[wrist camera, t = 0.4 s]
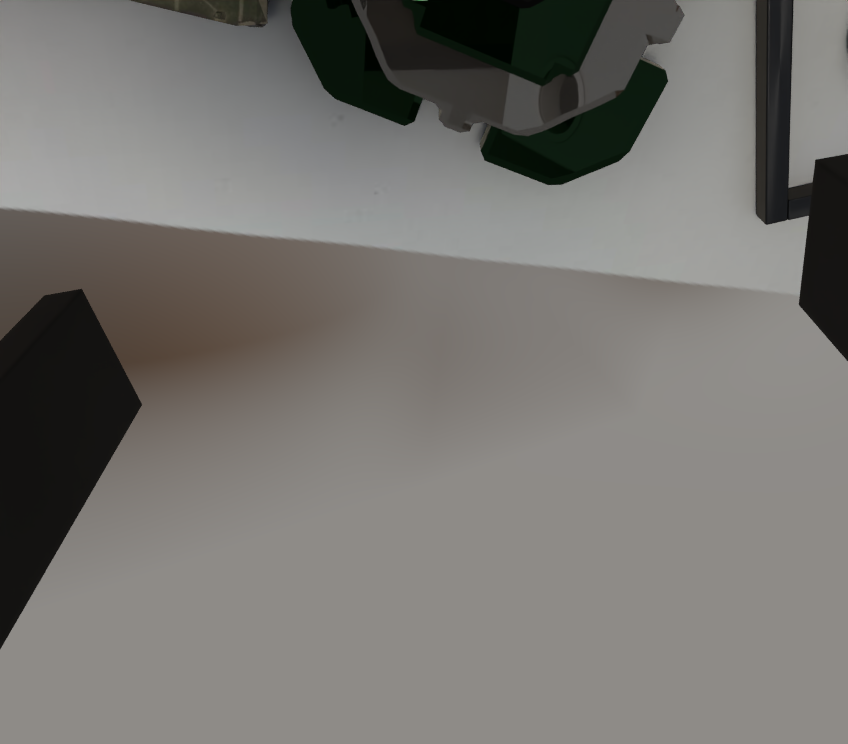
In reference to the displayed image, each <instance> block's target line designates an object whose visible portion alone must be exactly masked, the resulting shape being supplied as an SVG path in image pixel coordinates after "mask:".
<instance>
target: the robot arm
mask: <svg viewBox="0 0 848 744" xmlns="http://www.w3.org/2000/svg"><path fill="white" fill-rule="evenodd" d="M799 305H800V307H801V308H802V309H803V310H804V311H805V312H806V313H807V315H808V316H809V317H810V318H811V319H812V320H813V322H814V323H815V324H816V325H817V326H818V327H819V329H820V330H821V331H822V332H823V333H824V334H825V335H826V337H827V338H828V339H829V340H830V341H831V342H832V344H833V345H834V346H835V347H836V348H837V349H838V351H839V352H840V353H841V354H842V355H843V356H844V357H845V358H846V360H847V361H848V154H846V155H840V156H834V157H829V158H823V159H817V160H815V169H814V177H813V186H812V195H811V203H810V212H809V221H808V229H807V238H806V247H805V255H804V264H803V273H802V281H801V290H800V299H799ZM141 406H142V404H141V402H140V400H139V398H138V396H137V394H136V392H135V390H134V388H133V386H132V384H131V383H130V381H129V379H128V377H127V375H126V373H125V371H124V369H123V367H122V365H121V363H120V361H119V359H118V358H117V356H116V354H115V352H114V350H113V348H112V346H111V344H110V342H109V340H108V338H107V336H106V335H105V333H104V331H103V329H102V327H101V325H100V323H99V321H98V319H97V318H96V315H95V313H94V312H93V310H92V308H91V306H90V304H89V302H88V300H87V298H86V296H85V294H84V292H83V290H82V289H79V290H73V291H67V292H62V293H56V294H51V295H45V296H44V297H43V298H42V299H41V300H40V301H39V302H38V303H37V304H36V305H35V306H34V307H33V308H32V309H31V310H30V311H29V312H28V313H27V314H26V315H25V316H24V317H23V318H22V319H21V320H20V321H19V322H18V323H17V324H16V325H15V326H14V327H13V328H12V329H11V330H10V331H9V333H7V334H6V335H5V336H4V338H3V339H2V340H1V341H0V649H1V647H2V645H3V643H4V642H5V640H6V638H7V637H8V635H9V633H10V631H11V630H12V628H13V626H14V624H15V623H16V621H17V619H18V618H19V616H20V614H21V613H22V611H23V609H24V607H25V606H26V604H27V602H28V600H29V599H30V597H31V595H32V594H33V592H34V590H35V588H36V586H37V585H38V583H39V581H40V580H41V578H42V576H43V575H44V573H45V571H46V569H47V567H48V566H49V564H50V563H51V561H52V559H53V557H54V556H55V554H56V552H57V550H58V549H59V547H60V545H61V544H62V542H63V540H64V538H65V537H66V535H67V533H68V531H69V530H70V528H71V526H72V525H73V523H74V521H75V519H76V518H77V516H78V514H79V512H80V511H81V509H82V507H83V506H84V504H85V502H86V500H87V499H88V497H89V495H90V494H91V492H92V490H93V488H94V487H95V485H96V483H97V481H98V480H99V478H100V476H101V475H102V473H103V471H104V469H105V468H106V466H107V464H108V462H109V461H110V459H111V457H112V455H113V454H114V452H115V450H116V449H117V447H118V445H119V444H120V442H121V440H122V438H123V437H124V435H125V433H126V431H127V430H128V428H129V426H130V424H131V423H132V421H133V419H134V418H135V416H136V414H137V413H138V411H139V409H140V407H141Z"/></svg>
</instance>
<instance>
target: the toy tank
mask: <svg viewBox="0 0 848 744" xmlns="http://www.w3.org/2000/svg"><path fill="white" fill-rule="evenodd" d="M131 1H135V2H139V3H143V4H147V5H152V6H156V7H160V8H164V9H168V10H172V11H177V12H181V13H185V14H189V15H193V16H198V17H202V18H206V19H210V20H214V21H219V22H223V23H227V24H231V25H235V26H241V25H245V26H249V27H263V26H265V25H266V24H267V14H268V13H267V12H268V11H267V9H268V0H131Z"/></svg>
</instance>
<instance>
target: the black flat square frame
mask: <svg viewBox="0 0 848 744" xmlns="http://www.w3.org/2000/svg"><path fill="white" fill-rule="evenodd" d="M792 32H793V0H757V98H756V214H757V216H758V217H759V218H760V219H761V220H762V221H763V222H764V223H765V224H766V225H768V224H772V223H777V222H781V221H785V220H787V219H788V220H791V219H795V218H800V217H804V216H809V212H810V203H811V195H812V186H813V183H811V184H807V185H802V186H798V187H794V188H789V189H788V180H789V143H790V106H791V69H792Z"/></svg>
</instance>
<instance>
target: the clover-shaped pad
mask: <svg viewBox="0 0 848 744" xmlns="http://www.w3.org/2000/svg"><path fill="white" fill-rule="evenodd" d="M291 17H292V25H293V28H294V30H295V32H296V34H297V36H298V38H299V40H300V42H301V44H302V46H303V48H304V50H305V51H306V53H307V55H308V57H309V59H310V61H311V63H312V65H313V67H314V69H315V71H316V73H317V75H318V77H319V79H320V81H321V83H322V85H323V87H324V89H325V90H326V91H327V92H328V93H329V94H331V95H332V96H333V97H334V98H335V99H337V100H339V101H342V102H345V103H347V104H350V105H352V106H355V107H357V108H360V109H363V110H365V111H368V112H370V113H373V114H375V115H378V116H381V117H383V118H386V119H388V120H391V121H393V122H396V123H399V124H401V125H404V126H405V125H407V124H410V123H412V122H414V121H415V118H416V116H417V113H418V110H419V107H420V105H421V102H422V99H423V98H424V99H426V100H429V101H431V102H434V103H436V104H437V105H438V107H439V120H440V121H441V122H442V123H443V125H444V126H445V127H447V128H450V129H453V130H455V131H458V132H467V131H470V129H471V126H472V124H473V123H478V122H484V123H487V124H488V125H487V127H486V130H485V132H484V134H483V137H482V139H481V141H480V149H481V152H482V155H483V157H484V160H485V161H488V162H490V163H493V164H495V165H498V166H501V167H503V168H506V169H508V170H511V171H514V172H516V173H519V174H521V175H524V176H526V177H529V178H532V179H534V180H537V181H539V182H542V183H544V184H547V185H562V184H564V183H567V182H569V181H572V180H574V179H576V178H579V177H581V176H584V175H586V174H589V173H591V172H594V171H596V170H598V169H601V168H603V167H606V166H608V165H611V164H613V163H616V162H618V161H619V160H621V159H622V158H623V157H624V156H625V155H626V154H627V153H628V152H629V151H630V150H631V148H632V146H633V144H634V142H635V141H636V139H637V137H638V135H639V133H640V132H641V130H642V128H643V126H644V124H645V122H646V121H647V119H648V117H649V115H650V113H651V111H652V110H653V108H654V106H655V104H656V102H657V101H658V99H659V97H660V95H661V93H662V91H663V90H664V88H665V86H666V84H667V82H668V79H667V75H666V71H665V70H664V69H663V68H662V67H661V66H660V65H658V64H656V63H654V62H651V61H649V60H647V59H645V58H642V57H641V56H642V54H643V53H644V51H645V49H646V47H647V45H650V44H656V43H658V44H662V43H669V42H670V41H671V39H672V37H673V36H674V34H675V32H676V30H677V28H678V26H679V24H680V22H681V21H682V19H683V17H684V13H683V12H682V10H681V8H680V6H678V5H677V3H676V1H675V0H293V1H292V5H291Z"/></svg>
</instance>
